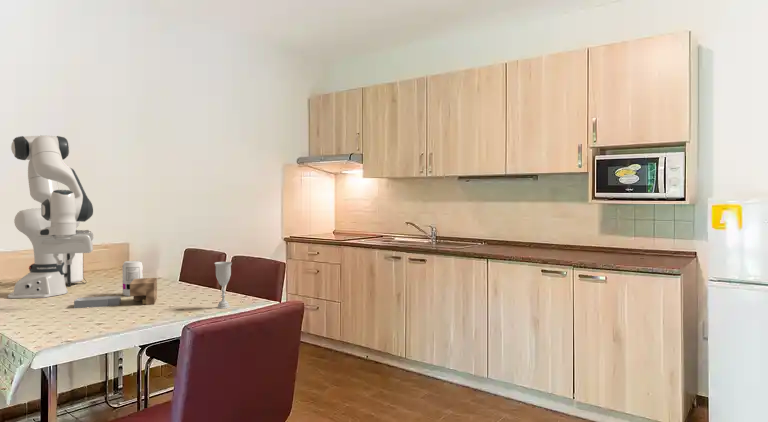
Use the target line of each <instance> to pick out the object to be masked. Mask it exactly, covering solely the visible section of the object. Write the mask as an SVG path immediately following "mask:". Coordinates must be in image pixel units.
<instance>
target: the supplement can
mask: <svg viewBox="0 0 768 422" xmlns="http://www.w3.org/2000/svg"><path fill="white" fill-rule="evenodd" d="M143 271H144V268H143V263H142V260H128V261H124V262H123V264H122V295H124V296H125V297H131V296H130V283H131V282H132V281H133V280H134V279H140V278H144V276H143V273H144V272H143Z"/></svg>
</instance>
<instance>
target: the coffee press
mask: <svg viewBox="0 0 768 422" xmlns="http://www.w3.org/2000/svg"><path fill="white" fill-rule="evenodd" d="M70 258H71V256H70V253H66V254H63V262H64V265H65V273H64V279H65V284H67V287H68V288H69V287H71V286H72V284H75V283H79V282H80V283H82V284H84V285H85V284H86V282H87V280H86V279H85V276H84V274H85V271H84V270H85V269H84V267H85V266H84V264H85V263H84V253H75V256H74V258H73V259H72V264H71V265H67V260H69V259H70ZM83 280H84V282H83Z"/></svg>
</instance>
